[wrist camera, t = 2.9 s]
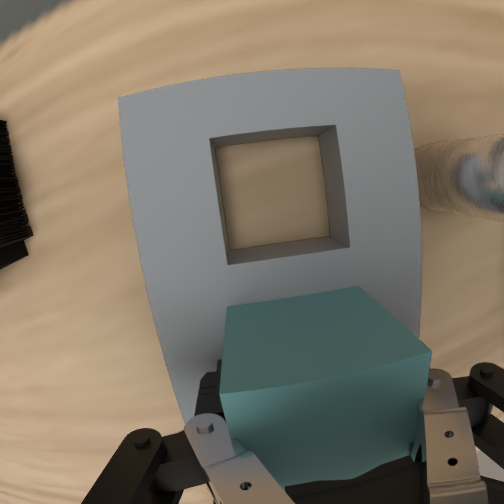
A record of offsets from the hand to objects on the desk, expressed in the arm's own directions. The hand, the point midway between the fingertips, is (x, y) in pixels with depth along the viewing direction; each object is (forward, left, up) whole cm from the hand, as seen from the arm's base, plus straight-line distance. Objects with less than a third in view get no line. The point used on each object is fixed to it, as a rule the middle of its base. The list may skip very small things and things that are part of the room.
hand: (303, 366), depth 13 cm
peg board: (0, -4, -4) cm, 6 cm away
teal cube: (0, 0, -1) cm, 1 cm away
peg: (-9, -7, -4) cm, 12 cm away
